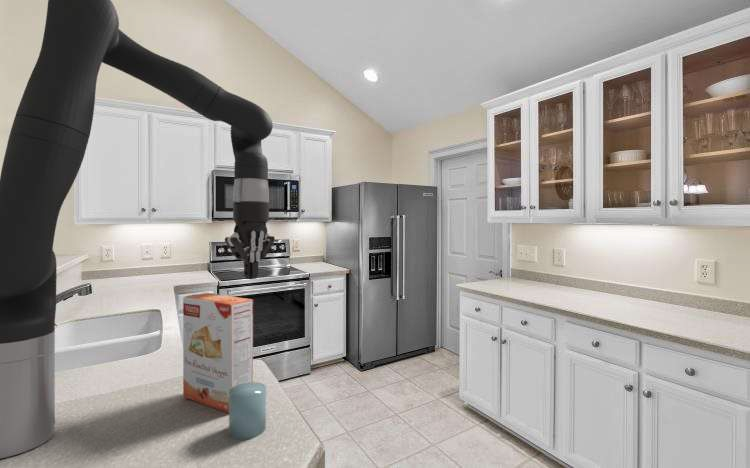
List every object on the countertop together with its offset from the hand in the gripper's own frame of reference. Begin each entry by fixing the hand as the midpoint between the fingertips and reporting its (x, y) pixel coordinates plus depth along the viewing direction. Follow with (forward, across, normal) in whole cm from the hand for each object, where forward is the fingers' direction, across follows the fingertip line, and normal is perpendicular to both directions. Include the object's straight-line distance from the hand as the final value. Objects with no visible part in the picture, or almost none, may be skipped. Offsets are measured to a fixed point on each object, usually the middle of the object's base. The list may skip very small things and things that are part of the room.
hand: (251, 278), depth 81 cm
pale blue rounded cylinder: (+24, +14, +14) cm, 31 cm away
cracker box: (+24, +9, 0) cm, 25 cm away
